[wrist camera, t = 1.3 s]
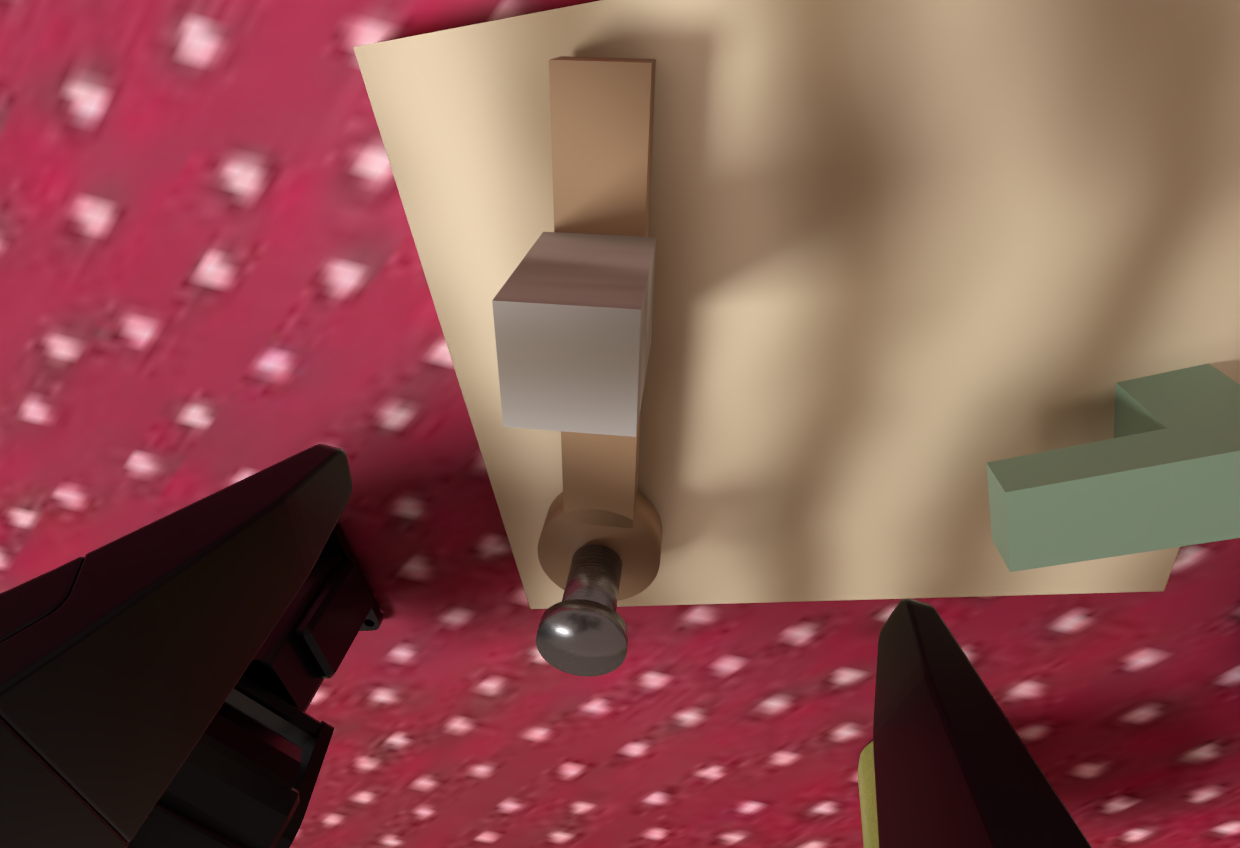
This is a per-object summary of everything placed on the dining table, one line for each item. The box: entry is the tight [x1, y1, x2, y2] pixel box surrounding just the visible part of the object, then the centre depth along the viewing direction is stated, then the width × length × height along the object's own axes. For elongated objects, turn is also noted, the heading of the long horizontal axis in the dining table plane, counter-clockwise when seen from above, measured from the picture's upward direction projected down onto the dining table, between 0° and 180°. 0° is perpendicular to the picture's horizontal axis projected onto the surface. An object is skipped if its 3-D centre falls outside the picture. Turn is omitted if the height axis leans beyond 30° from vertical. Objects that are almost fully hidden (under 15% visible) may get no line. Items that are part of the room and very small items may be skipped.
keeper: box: [986, 363, 1240, 572], centre depth 20 cm, size 7×3×5 cm, turn 109°
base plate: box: [353, 0, 1240, 609], centre depth 21 cm, size 24×21×1 cm
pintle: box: [536, 544, 629, 676], centre depth 22 cm, size 3×3×4 cm
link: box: [492, 56, 662, 601], centre depth 18 cm, size 18×4×7 cm, turn 179°
